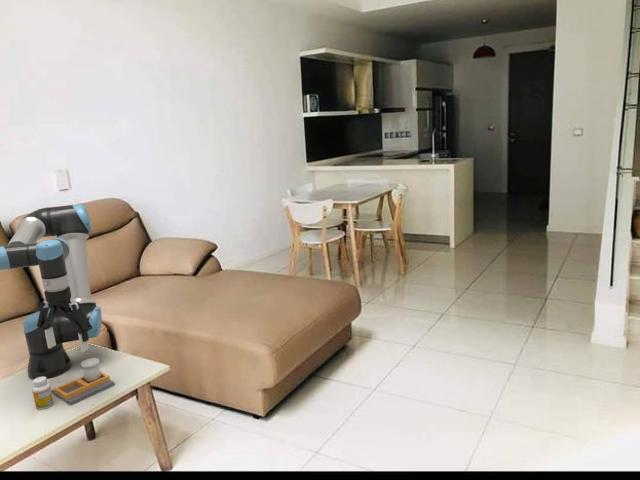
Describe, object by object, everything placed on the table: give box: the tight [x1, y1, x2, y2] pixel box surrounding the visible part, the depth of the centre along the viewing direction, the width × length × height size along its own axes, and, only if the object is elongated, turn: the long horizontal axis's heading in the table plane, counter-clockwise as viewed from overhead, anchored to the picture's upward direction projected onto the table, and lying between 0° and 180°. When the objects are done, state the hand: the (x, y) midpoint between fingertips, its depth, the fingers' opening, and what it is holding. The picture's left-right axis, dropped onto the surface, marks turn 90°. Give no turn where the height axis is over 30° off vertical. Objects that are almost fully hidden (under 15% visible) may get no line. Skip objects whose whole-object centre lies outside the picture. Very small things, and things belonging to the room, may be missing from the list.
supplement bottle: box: [31, 377, 55, 410], centre depth 175 cm, size 5×5×10 cm
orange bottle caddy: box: [51, 357, 116, 406], centre depth 184 cm, size 14×16×9 cm
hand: (68, 348), depth 174 cm, fingers open, 13 cm apart
